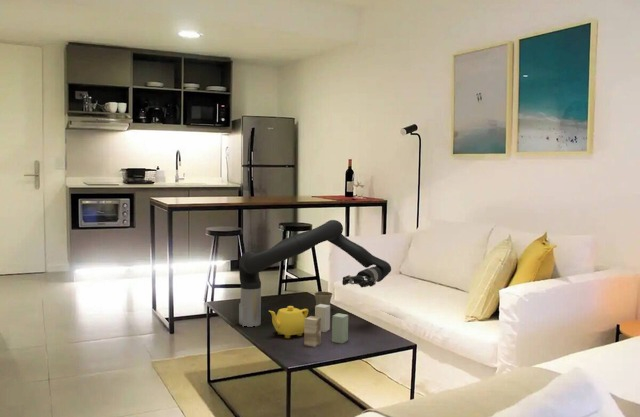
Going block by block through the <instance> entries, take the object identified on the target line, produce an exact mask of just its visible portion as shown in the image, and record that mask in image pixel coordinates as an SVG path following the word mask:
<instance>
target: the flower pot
mask: <svg viewBox="0 0 640 417" xmlns="http://www.w3.org/2000/svg"><path fill="white" fill-rule="evenodd" d="M313 294H314V298H315V304H316V305H315V306H317V305H319V304H324V305H330V306H331V299H332V296H333V292H331V291H330V292H329V291H315V292H314V293H313Z"/></svg>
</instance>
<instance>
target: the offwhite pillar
mask: <svg viewBox="0 0 640 417" xmlns="http://www.w3.org/2000/svg"><path fill="white" fill-rule="evenodd" d="M314 316H315V317H321V333H326V332H328V331H329V330H330V329H331V326H330V325H331V304H330V305H324V304H319V305H315V306H314Z"/></svg>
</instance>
